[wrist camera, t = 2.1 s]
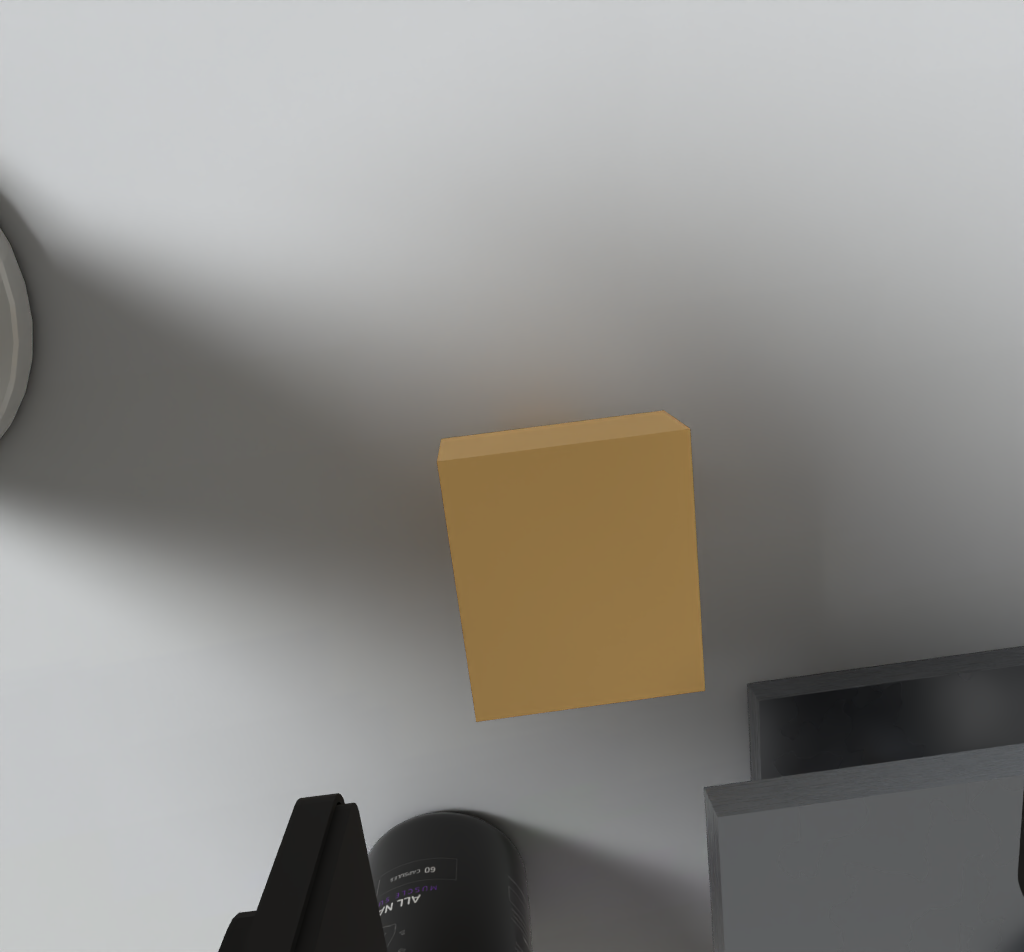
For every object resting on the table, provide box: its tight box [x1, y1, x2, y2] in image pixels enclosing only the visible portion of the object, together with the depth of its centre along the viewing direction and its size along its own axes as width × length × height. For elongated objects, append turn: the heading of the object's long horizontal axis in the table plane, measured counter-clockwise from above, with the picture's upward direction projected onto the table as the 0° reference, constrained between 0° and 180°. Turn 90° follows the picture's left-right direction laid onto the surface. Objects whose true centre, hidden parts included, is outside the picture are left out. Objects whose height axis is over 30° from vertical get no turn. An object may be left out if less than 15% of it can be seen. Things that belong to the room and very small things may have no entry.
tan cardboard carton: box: [437, 410, 705, 722], centre depth 22 cm, size 7×6×8 cm
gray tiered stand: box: [704, 646, 1024, 952], centre depth 26 cm, size 18×22×10 cm
